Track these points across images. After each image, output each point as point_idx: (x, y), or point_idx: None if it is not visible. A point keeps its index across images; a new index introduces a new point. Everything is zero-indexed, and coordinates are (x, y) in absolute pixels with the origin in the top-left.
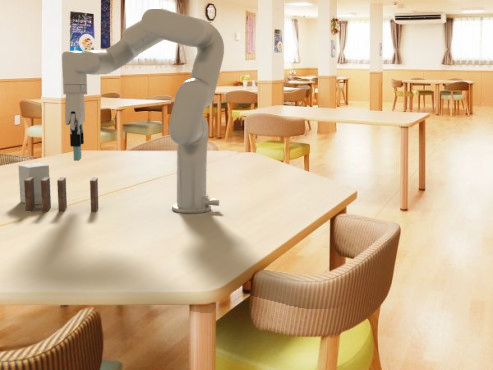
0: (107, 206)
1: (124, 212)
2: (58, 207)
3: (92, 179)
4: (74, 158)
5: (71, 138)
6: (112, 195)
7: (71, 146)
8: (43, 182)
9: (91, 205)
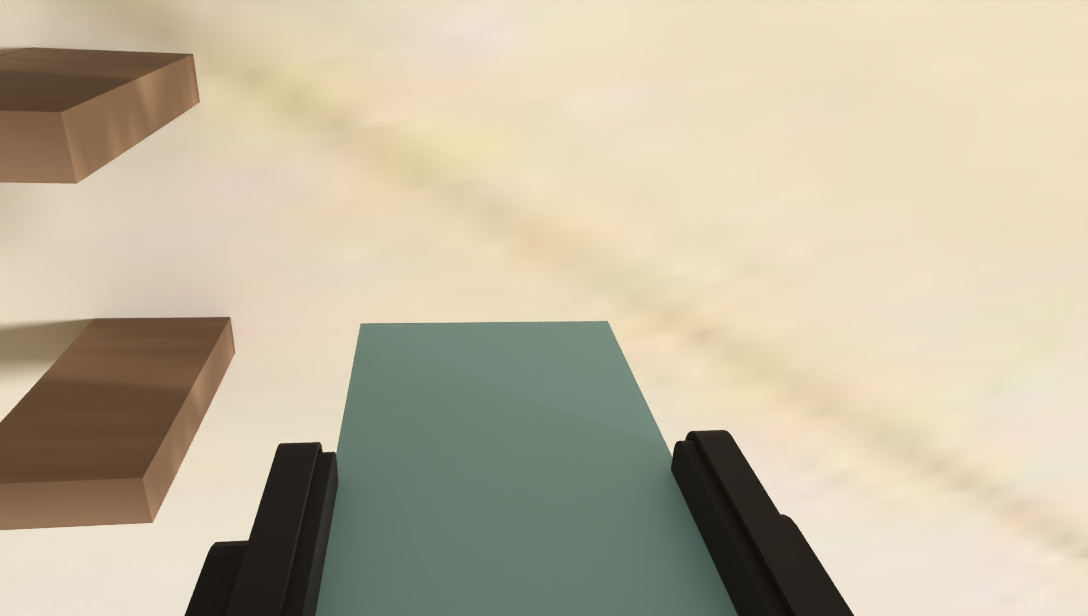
0: (288, 406)
1: (116, 529)
2: (12, 53)
3: (20, 497)
4: (360, 351)
5: (243, 611)
6: (659, 389)
7: (284, 452)
8: None
9: (72, 348)
